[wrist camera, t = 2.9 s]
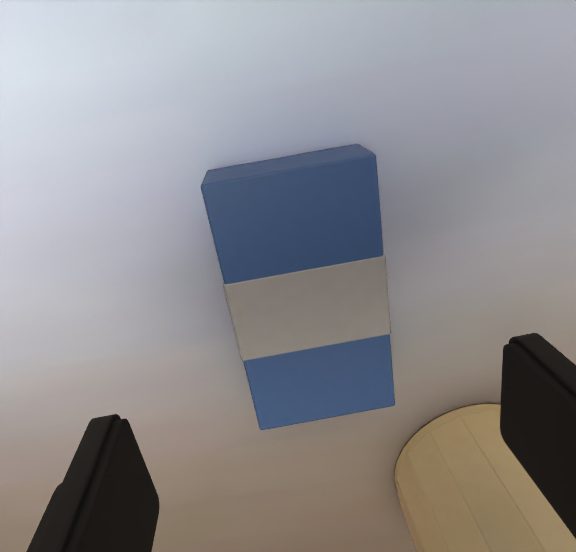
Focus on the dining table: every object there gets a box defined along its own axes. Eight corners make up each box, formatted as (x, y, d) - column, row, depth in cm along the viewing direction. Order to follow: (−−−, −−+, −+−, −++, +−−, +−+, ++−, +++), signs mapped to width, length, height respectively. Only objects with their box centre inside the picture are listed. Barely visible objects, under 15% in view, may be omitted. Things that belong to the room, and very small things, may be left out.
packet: (204, 170, 16) (198, 185, 14) (360, 143, 16) (378, 153, 14) (257, 392, 20) (259, 431, 18) (380, 369, 20) (397, 406, 18)
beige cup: (389, 420, 21) (456, 582, 14) (553, 389, 21) (697, 536, 14) (398, 530, 25) (456, 705, 18) (540, 504, 25) (652, 667, 18)
